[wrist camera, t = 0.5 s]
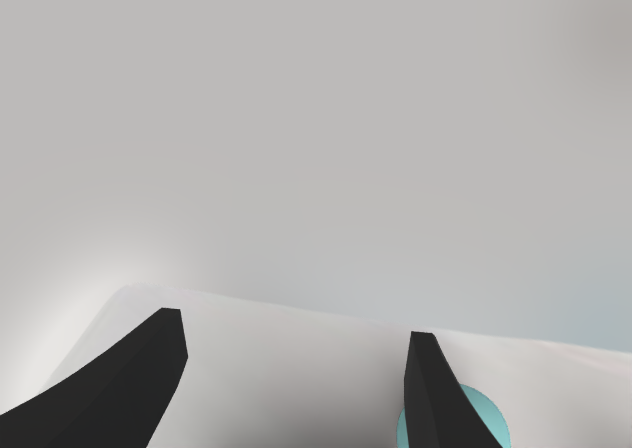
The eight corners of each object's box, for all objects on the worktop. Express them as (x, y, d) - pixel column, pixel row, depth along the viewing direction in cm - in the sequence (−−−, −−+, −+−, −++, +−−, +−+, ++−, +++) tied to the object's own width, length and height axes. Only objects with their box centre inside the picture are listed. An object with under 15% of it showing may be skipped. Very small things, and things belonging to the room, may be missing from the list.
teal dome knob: (528, 505, 22) (527, 490, 20) (413, 516, 23) (404, 503, 21) (494, 394, 26) (491, 375, 24) (398, 408, 27) (390, 391, 26)
